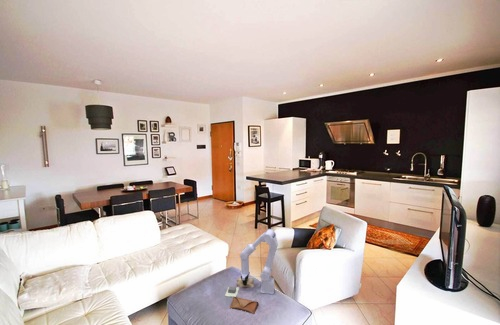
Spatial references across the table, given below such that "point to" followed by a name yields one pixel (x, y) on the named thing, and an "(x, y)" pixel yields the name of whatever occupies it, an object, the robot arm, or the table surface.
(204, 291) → the table surface
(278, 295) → the table surface
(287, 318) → the table surface
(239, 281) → the beige piece
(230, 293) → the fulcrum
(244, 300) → the sunglasses case
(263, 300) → the table surface
